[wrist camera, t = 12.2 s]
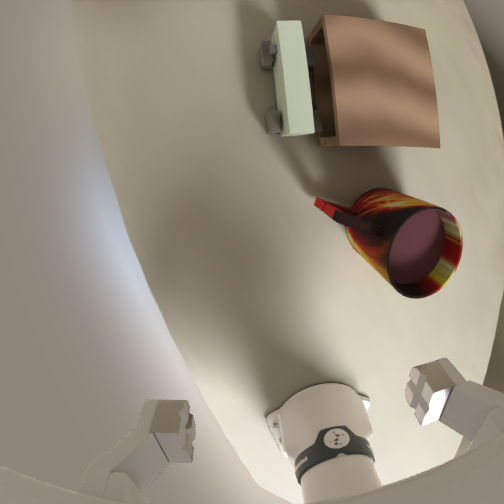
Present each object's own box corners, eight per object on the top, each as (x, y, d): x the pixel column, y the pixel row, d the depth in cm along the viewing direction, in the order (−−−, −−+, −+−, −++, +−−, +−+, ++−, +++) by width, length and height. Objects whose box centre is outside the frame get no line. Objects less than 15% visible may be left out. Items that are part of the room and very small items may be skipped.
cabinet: (405, 145, 35) (440, 148, 27) (268, 149, 35) (277, 149, 27) (394, 46, 30) (424, 29, 23) (257, 39, 30) (262, 13, 23)
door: (300, 135, 34) (314, 132, 27) (274, 137, 34) (282, 134, 27) (290, 41, 30) (301, 20, 24) (264, 42, 30) (269, 20, 23)
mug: (310, 196, 37) (341, 218, 25) (408, 184, 37) (464, 201, 25) (318, 269, 40) (346, 316, 29) (409, 252, 40) (458, 288, 28)
